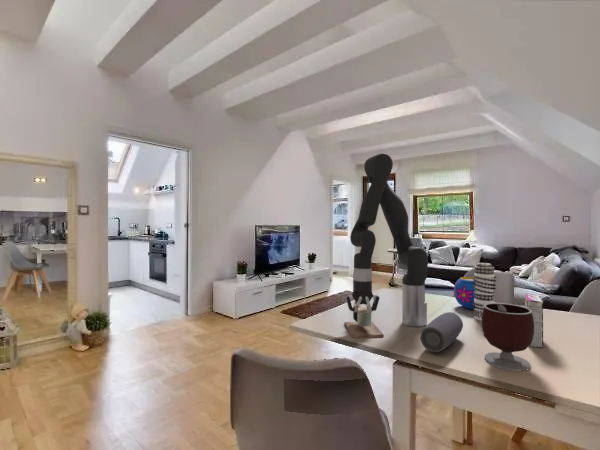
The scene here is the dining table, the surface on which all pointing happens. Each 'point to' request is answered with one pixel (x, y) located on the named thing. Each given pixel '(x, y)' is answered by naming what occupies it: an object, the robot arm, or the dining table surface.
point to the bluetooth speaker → (441, 332)
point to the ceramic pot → (465, 292)
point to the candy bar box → (536, 317)
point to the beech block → (363, 316)
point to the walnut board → (363, 330)
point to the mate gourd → (507, 334)
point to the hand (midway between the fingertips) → (362, 320)
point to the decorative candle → (483, 287)
